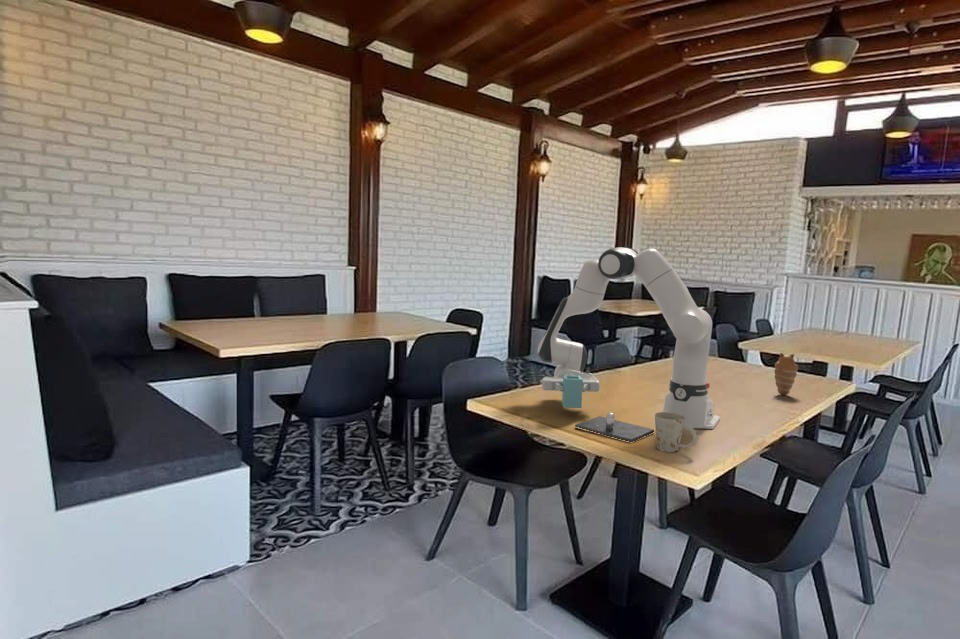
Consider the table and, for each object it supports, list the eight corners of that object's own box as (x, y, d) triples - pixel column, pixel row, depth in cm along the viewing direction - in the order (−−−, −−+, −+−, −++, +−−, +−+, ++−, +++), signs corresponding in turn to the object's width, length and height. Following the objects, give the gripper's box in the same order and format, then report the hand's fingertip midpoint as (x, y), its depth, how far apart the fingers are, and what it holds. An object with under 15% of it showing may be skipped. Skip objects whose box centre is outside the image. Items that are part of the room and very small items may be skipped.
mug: (659, 442, 177) (661, 410, 176) (701, 452, 169) (703, 418, 168) (648, 449, 170) (650, 415, 169) (691, 459, 163) (693, 424, 161)
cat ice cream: (773, 396, 244) (777, 353, 242) (770, 392, 251) (774, 350, 249) (796, 398, 241) (801, 355, 239) (793, 394, 249) (797, 352, 247)
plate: (599, 419, 200) (600, 401, 199) (653, 433, 186) (655, 413, 186) (575, 428, 189) (576, 408, 188) (631, 443, 175) (632, 422, 174)
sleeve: (562, 403, 205) (563, 375, 204) (579, 403, 205) (580, 375, 203) (563, 407, 199) (564, 379, 198) (581, 408, 199) (582, 379, 198)
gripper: (540, 371, 214) (542, 379, 200) (596, 373, 213) (602, 381, 199) (539, 388, 215) (542, 397, 201) (595, 390, 214) (601, 399, 200)
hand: (572, 389), depth 200 cm, fingers closed on sleeve, 6 cm apart
